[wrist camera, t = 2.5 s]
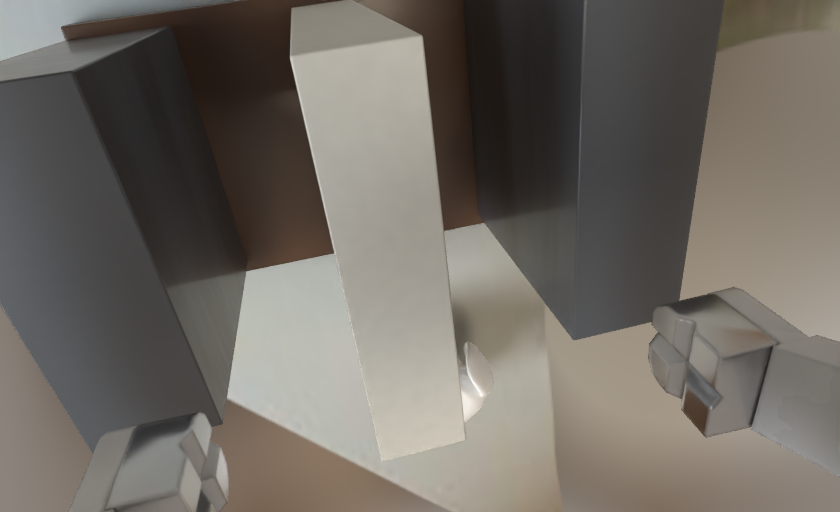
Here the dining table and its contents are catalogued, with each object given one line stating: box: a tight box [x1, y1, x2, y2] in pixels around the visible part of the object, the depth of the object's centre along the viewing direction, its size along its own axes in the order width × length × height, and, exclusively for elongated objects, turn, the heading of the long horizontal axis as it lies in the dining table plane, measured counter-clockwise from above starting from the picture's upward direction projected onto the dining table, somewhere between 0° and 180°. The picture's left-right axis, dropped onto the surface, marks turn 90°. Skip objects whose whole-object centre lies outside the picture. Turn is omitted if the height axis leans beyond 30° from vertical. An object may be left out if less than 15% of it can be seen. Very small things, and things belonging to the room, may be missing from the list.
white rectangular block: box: [290, 0, 466, 461], centre depth 19 cm, size 2×11×14 cm, turn 7°
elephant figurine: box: [457, 342, 494, 423], centre depth 30 cm, size 7×8×6 cm
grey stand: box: [0, 0, 724, 454], centre depth 20 cm, size 20×12×12 cm, turn 97°
